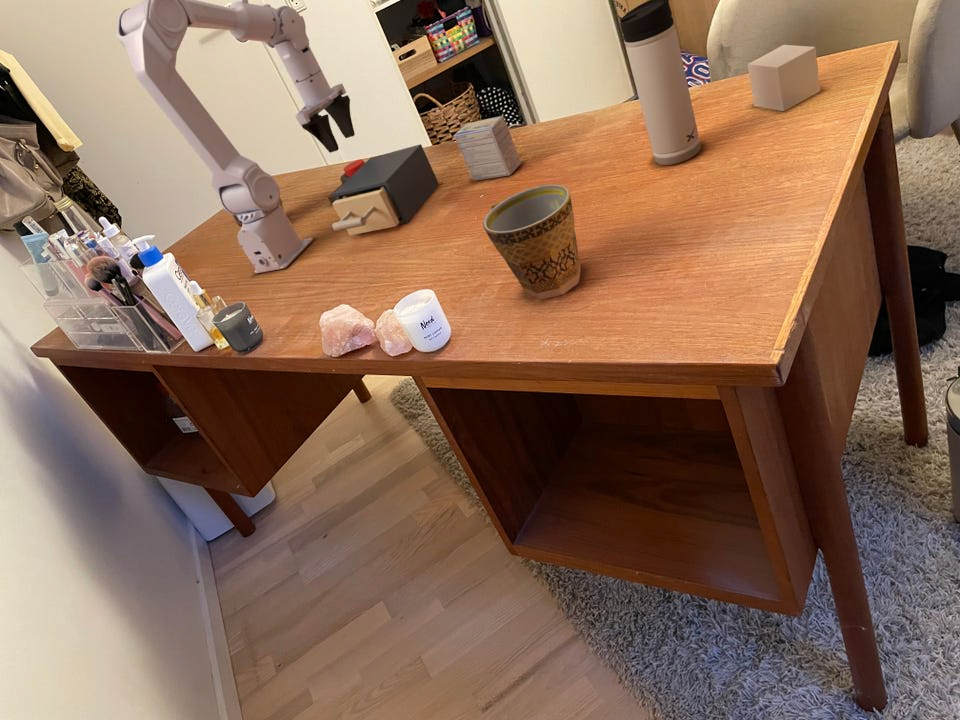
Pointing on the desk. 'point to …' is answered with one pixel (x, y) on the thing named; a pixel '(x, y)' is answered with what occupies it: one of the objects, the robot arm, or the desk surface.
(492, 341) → the desk surface
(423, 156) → the cabinet
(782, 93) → the pinkish grey cube
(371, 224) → the drawer
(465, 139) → the paper stack
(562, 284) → the ceramic cup
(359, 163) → the button
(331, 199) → the button block
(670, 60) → the travel mug
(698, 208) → the desk surface
